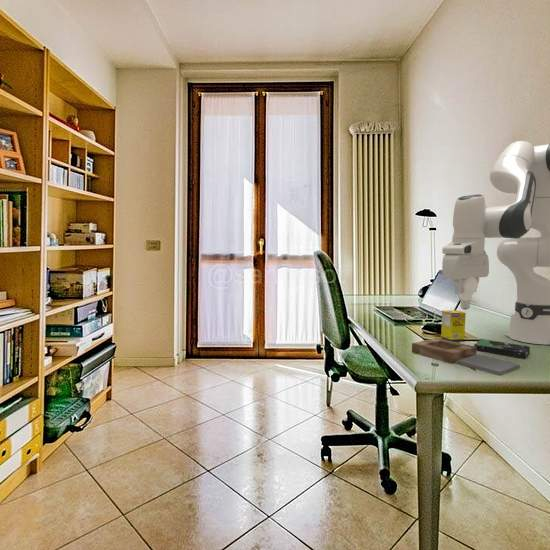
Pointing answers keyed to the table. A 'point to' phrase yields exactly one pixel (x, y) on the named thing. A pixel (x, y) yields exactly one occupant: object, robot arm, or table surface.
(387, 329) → the table surface
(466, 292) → the lightbulb
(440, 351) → the holder
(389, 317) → the table surface
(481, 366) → the mat
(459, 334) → the supplement box
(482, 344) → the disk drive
